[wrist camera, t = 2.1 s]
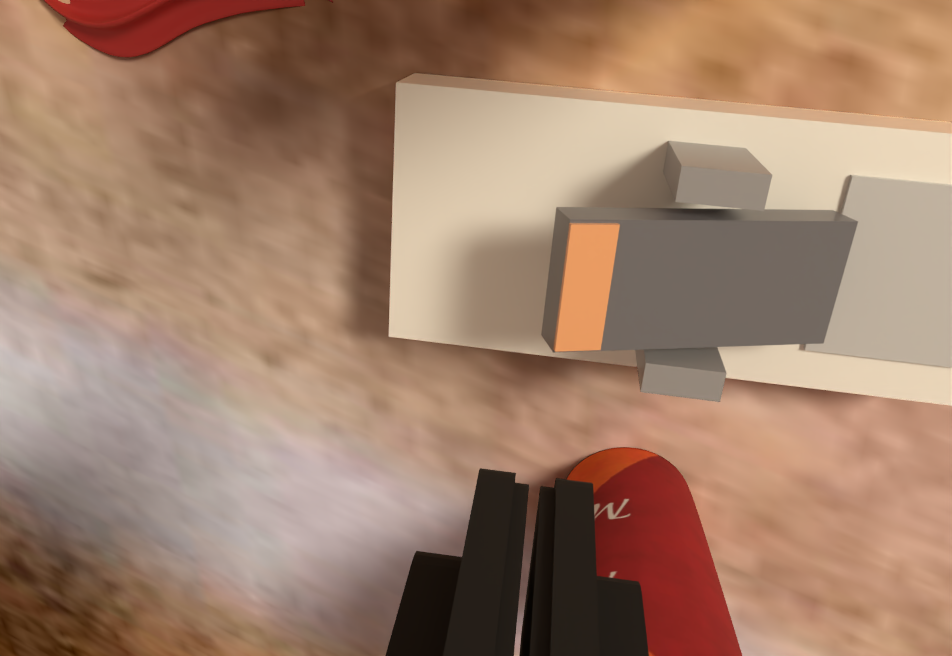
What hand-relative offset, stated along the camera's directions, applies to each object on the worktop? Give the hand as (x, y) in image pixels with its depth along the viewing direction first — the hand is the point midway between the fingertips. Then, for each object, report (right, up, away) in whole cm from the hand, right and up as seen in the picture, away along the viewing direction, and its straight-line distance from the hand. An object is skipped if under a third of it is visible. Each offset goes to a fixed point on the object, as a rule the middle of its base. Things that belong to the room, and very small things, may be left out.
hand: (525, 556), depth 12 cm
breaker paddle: (+6, +5, +12) cm, 14 cm away
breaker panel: (+7, +7, +17) cm, 20 cm away
